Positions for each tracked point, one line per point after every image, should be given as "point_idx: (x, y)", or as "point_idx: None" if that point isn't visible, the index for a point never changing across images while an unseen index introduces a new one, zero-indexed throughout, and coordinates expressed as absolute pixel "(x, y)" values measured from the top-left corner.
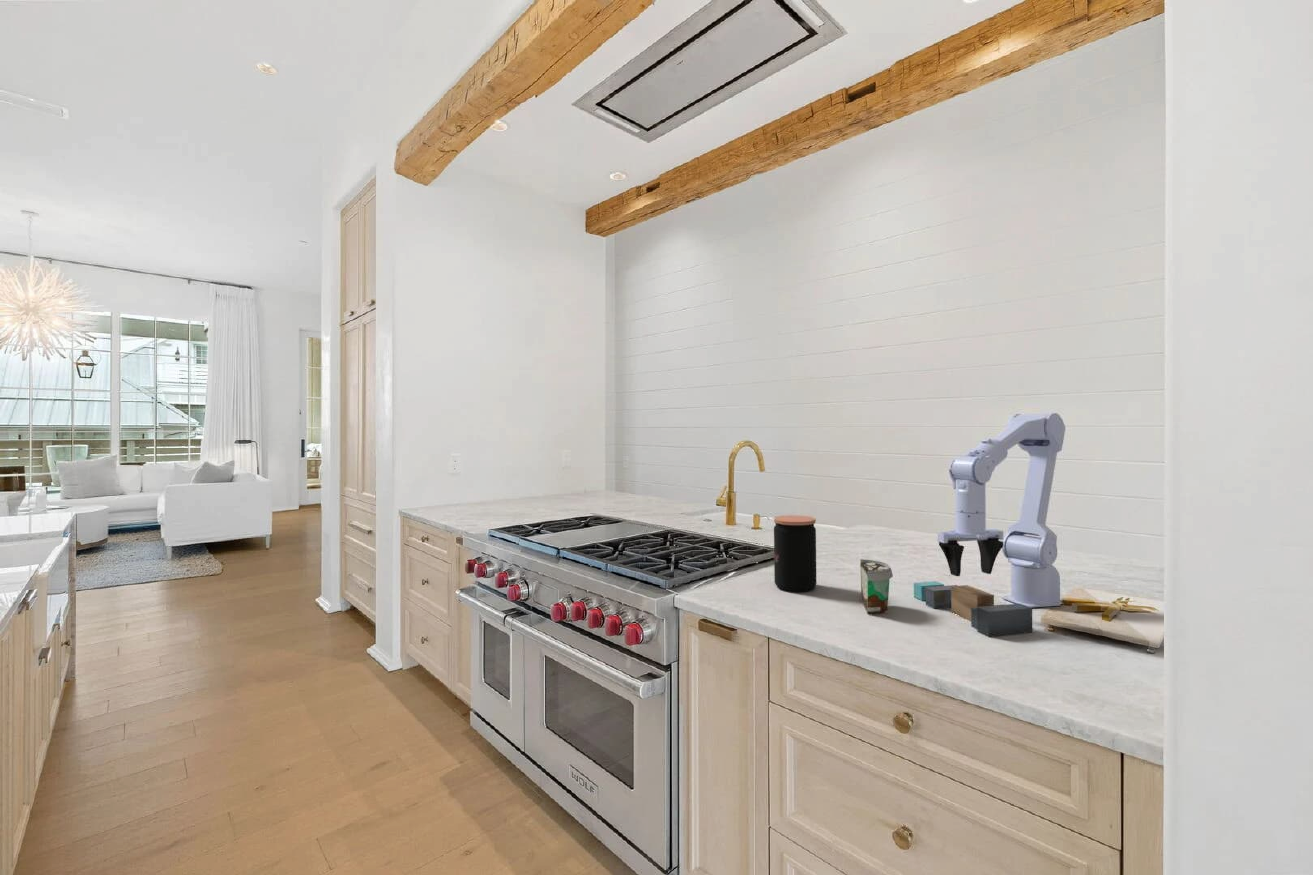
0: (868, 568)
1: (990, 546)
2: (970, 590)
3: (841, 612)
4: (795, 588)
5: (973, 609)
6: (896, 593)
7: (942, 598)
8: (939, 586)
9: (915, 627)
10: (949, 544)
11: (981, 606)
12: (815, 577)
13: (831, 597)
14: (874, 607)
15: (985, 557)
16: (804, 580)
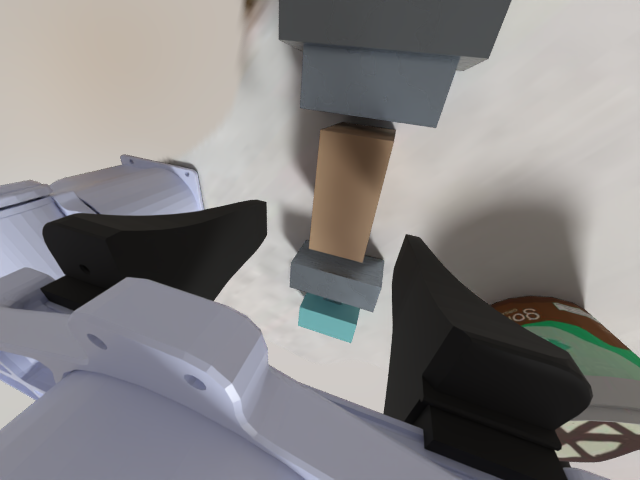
0: (604, 451)
1: (161, 262)
2: (348, 206)
3: None
4: None
5: (440, 113)
6: (366, 343)
7: (358, 267)
8: (335, 299)
9: (597, 184)
10: (551, 435)
11: (393, 119)
12: None
13: None
14: (582, 315)
15: (225, 253)
16: None
